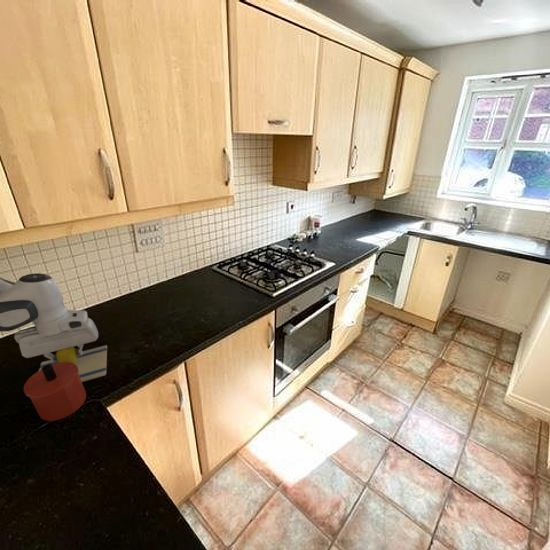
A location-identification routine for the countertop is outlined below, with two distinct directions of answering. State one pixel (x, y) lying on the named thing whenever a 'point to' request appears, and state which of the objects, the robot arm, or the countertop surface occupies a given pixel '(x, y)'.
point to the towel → (89, 363)
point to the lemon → (67, 355)
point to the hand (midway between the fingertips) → (68, 357)
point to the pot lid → (50, 379)
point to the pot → (61, 402)
